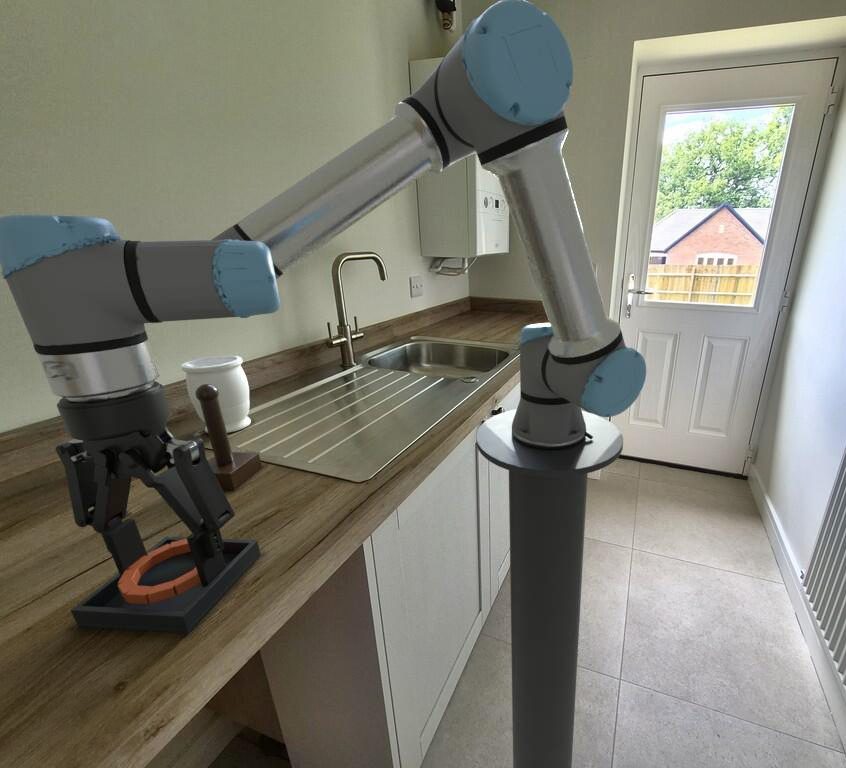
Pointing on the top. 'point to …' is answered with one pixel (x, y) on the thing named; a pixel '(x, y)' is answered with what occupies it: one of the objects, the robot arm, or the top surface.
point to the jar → (221, 387)
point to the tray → (174, 612)
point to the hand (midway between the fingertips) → (175, 575)
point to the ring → (161, 591)
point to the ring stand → (224, 444)
